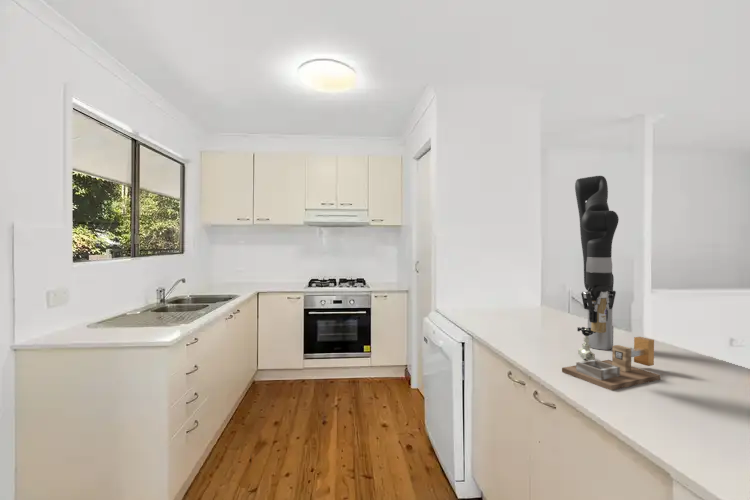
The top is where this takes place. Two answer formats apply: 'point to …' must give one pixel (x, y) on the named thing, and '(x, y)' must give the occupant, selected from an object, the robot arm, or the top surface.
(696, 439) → the top surface
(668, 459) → the top surface
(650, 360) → the bar
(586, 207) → the robot arm
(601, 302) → the spice jar
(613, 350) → the socket base
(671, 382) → the top surface
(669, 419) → the top surface
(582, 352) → the valve
